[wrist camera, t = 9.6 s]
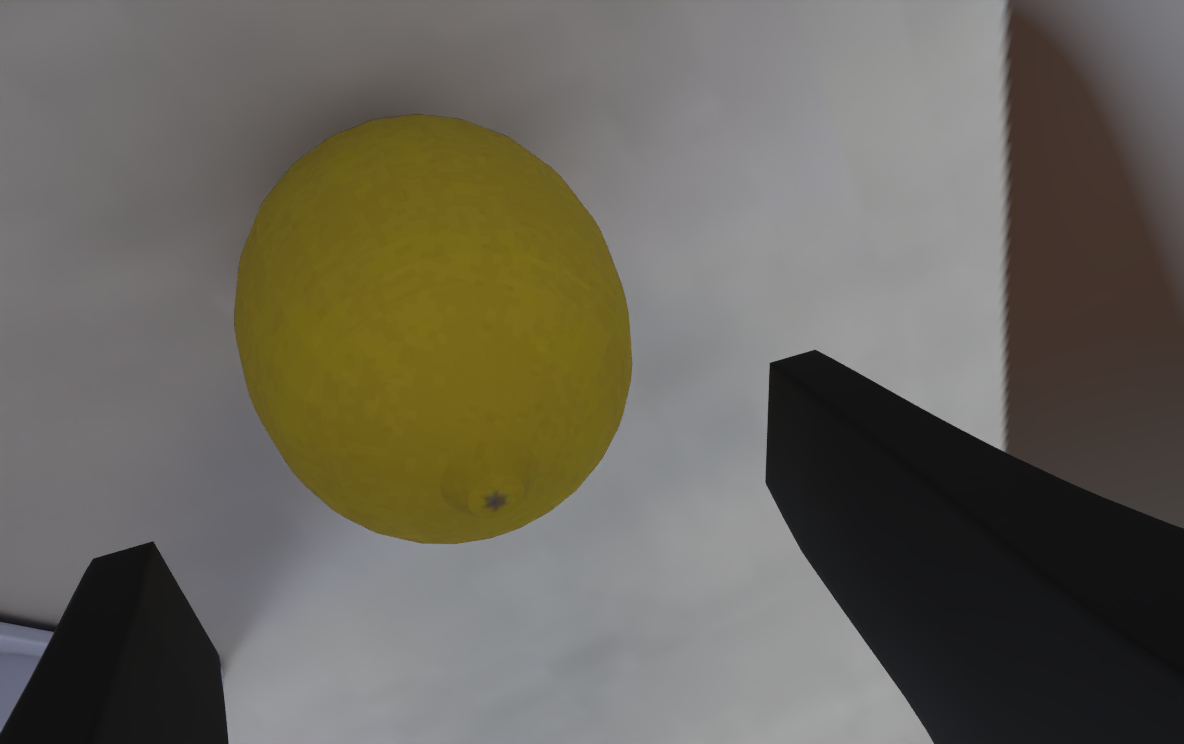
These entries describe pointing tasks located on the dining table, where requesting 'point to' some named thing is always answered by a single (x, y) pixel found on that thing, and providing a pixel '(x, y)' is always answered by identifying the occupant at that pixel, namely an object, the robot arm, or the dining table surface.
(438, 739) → the dining table surface
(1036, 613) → the robot arm
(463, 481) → the lemon
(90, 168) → the dining table surface
